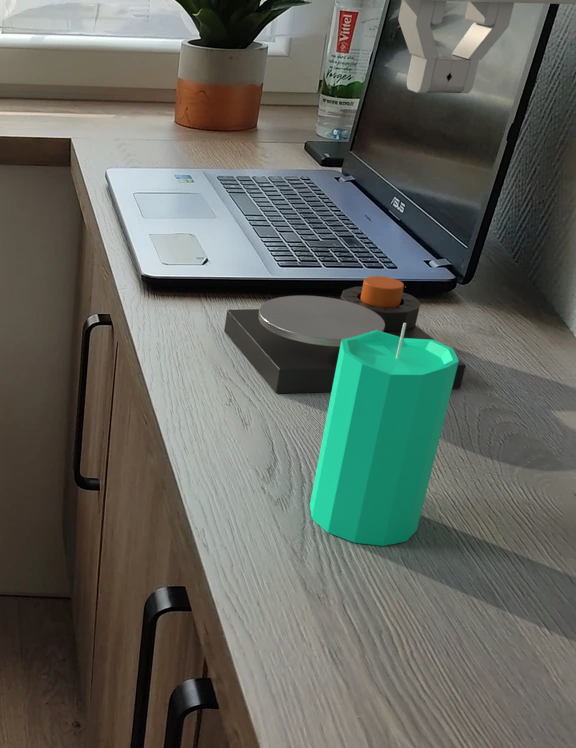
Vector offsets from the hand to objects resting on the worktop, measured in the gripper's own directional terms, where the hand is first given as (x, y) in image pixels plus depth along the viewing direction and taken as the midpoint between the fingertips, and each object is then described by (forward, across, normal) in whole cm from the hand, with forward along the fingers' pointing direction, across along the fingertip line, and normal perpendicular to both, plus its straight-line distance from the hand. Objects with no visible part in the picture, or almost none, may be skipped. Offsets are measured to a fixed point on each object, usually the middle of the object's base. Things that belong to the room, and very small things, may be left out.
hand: (437, 91), depth 59 cm
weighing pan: (+19, -3, -15) cm, 24 cm away
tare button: (+19, -10, -20) cm, 29 cm away
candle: (+23, +3, +7) cm, 24 cm away
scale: (+23, -5, -16) cm, 28 cm away
